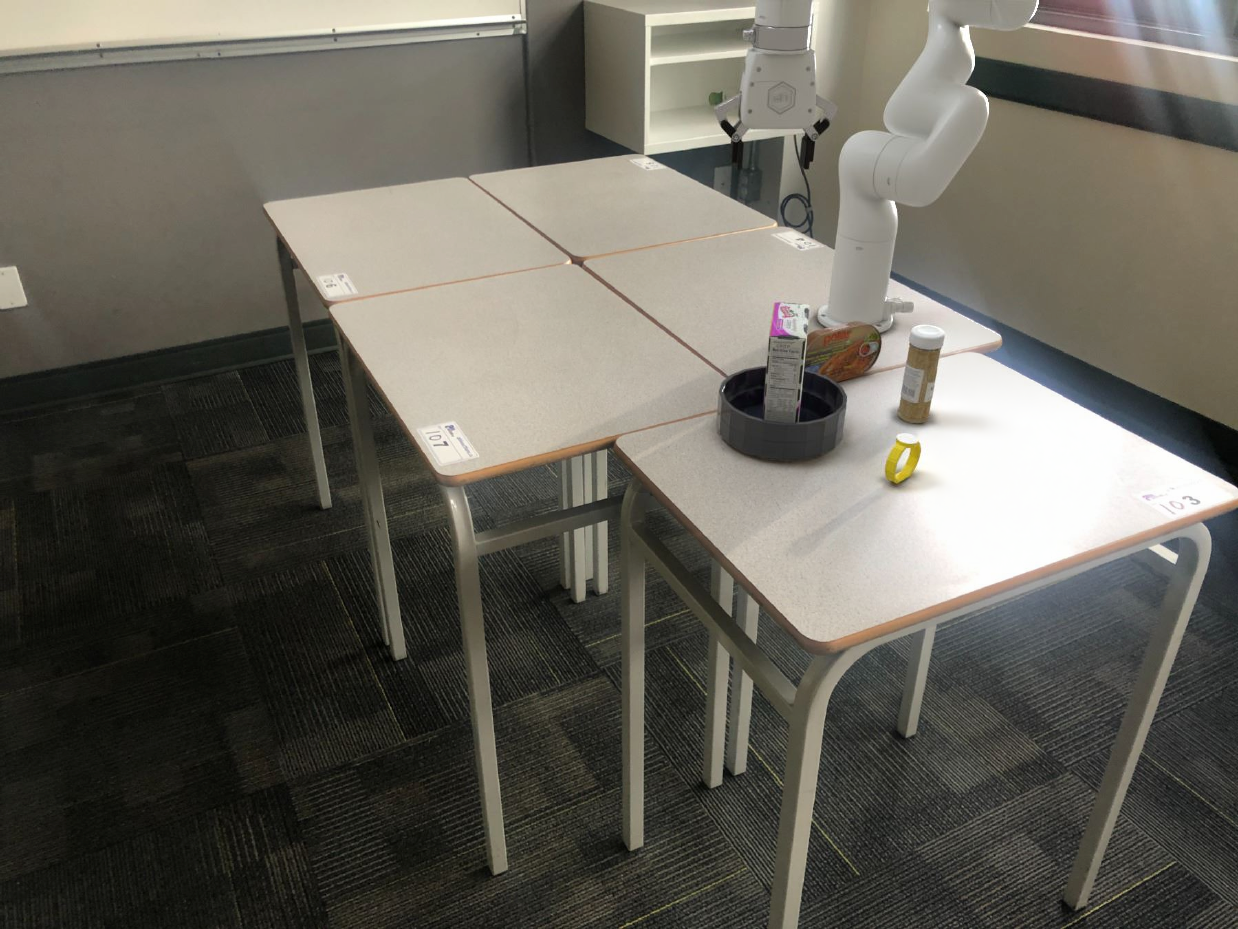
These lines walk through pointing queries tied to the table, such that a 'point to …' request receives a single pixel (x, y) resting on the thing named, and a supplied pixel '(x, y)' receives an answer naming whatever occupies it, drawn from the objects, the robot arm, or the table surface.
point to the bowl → (779, 439)
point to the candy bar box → (785, 362)
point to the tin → (843, 350)
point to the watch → (895, 454)
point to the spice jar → (920, 373)
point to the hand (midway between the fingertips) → (770, 167)
